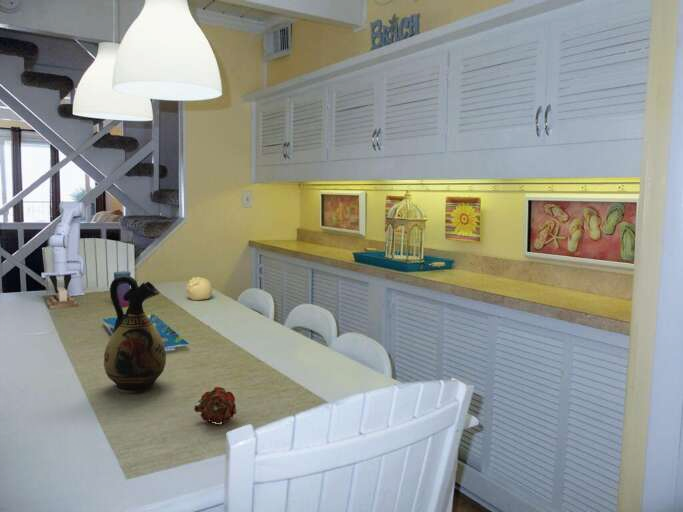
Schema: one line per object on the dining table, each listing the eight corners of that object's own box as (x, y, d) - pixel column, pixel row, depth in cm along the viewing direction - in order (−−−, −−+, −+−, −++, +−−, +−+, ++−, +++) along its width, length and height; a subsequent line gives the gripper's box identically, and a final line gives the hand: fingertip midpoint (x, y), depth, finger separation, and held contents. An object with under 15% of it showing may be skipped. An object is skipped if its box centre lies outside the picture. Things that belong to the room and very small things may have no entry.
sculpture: (185, 297, 261) (185, 275, 260) (211, 296, 265) (211, 274, 263) (186, 302, 250) (186, 279, 249) (213, 301, 254) (213, 278, 252)
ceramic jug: (173, 377, 153) (171, 272, 149) (156, 398, 138) (154, 282, 134) (112, 376, 153) (108, 271, 149) (88, 398, 137) (84, 280, 134)
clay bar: (55, 297, 245) (55, 286, 244) (63, 296, 247) (62, 286, 246) (59, 302, 235) (59, 291, 234) (67, 301, 237) (66, 290, 236)
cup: (114, 305, 241) (113, 271, 239) (130, 304, 244) (130, 270, 242) (115, 308, 235) (114, 273, 233) (132, 307, 237) (131, 273, 236)
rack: (45, 300, 245) (44, 295, 245) (72, 298, 252) (71, 293, 251) (50, 308, 231) (49, 303, 230) (78, 306, 237) (78, 300, 236)
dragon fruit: (223, 440, 120) (206, 426, 130) (251, 411, 124) (233, 400, 134) (199, 413, 117) (184, 402, 128) (228, 384, 121) (211, 375, 131)
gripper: (42, 264, 231) (43, 295, 233) (79, 262, 240) (80, 292, 241) (40, 262, 237) (41, 292, 239) (76, 260, 245) (77, 290, 247)
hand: (61, 292), depth 240 cm, fingers closed on clay bar, 3 cm apart
